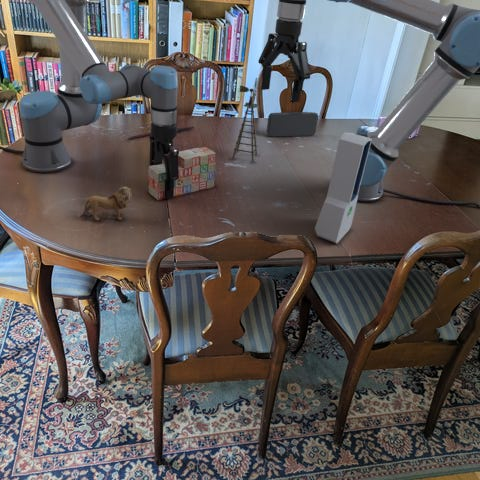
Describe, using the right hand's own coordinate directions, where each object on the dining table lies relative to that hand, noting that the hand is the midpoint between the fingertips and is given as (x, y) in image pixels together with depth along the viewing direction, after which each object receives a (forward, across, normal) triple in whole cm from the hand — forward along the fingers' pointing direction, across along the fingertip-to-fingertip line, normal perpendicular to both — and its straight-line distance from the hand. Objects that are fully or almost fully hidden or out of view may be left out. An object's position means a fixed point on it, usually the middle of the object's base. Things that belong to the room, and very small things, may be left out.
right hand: (279, 95), depth 142 cm
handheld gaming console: (+32, +35, -44) cm, 64 cm away
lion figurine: (+32, +8, +54) cm, 63 cm away
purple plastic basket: (+32, +15, -93) cm, 100 cm away
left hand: (+31, +12, +33) cm, 47 cm away
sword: (+32, +59, +7) cm, 67 cm away
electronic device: (+32, -32, +2) cm, 45 cm away
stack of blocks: (+32, +12, +26) cm, 43 cm away
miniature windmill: (+32, +25, -10) cm, 41 cm away
